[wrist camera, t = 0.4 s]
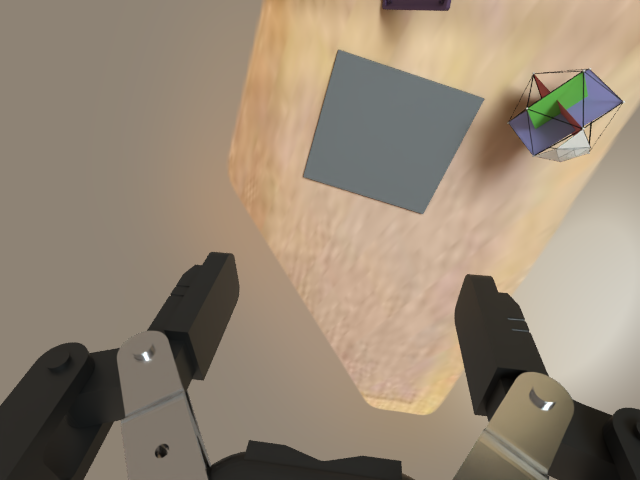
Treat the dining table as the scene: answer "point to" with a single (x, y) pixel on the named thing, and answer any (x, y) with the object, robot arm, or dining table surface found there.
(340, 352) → the dining table surface
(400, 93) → the mat
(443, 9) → the game card
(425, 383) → the dining table surface
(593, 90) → the geometric puzzle
